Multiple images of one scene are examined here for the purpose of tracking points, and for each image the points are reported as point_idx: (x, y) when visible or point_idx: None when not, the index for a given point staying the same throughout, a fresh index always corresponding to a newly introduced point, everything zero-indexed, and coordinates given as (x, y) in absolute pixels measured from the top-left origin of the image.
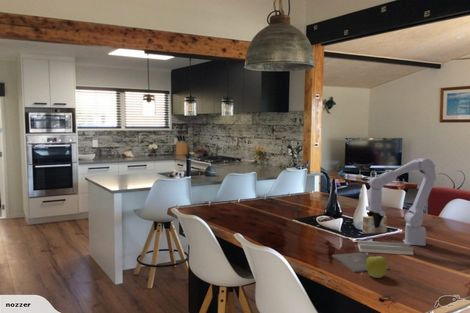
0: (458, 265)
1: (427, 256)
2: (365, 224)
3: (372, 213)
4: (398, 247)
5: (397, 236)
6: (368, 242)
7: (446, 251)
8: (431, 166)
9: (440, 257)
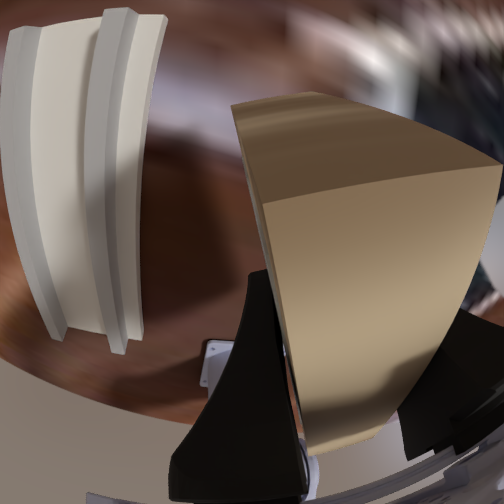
0: (25, 366)
1: (59, 344)
2: (261, 121)
3: (440, 422)
4: (31, 285)
5: None
6: (90, 101)
7: (145, 398)
8: None
9: (69, 367)
